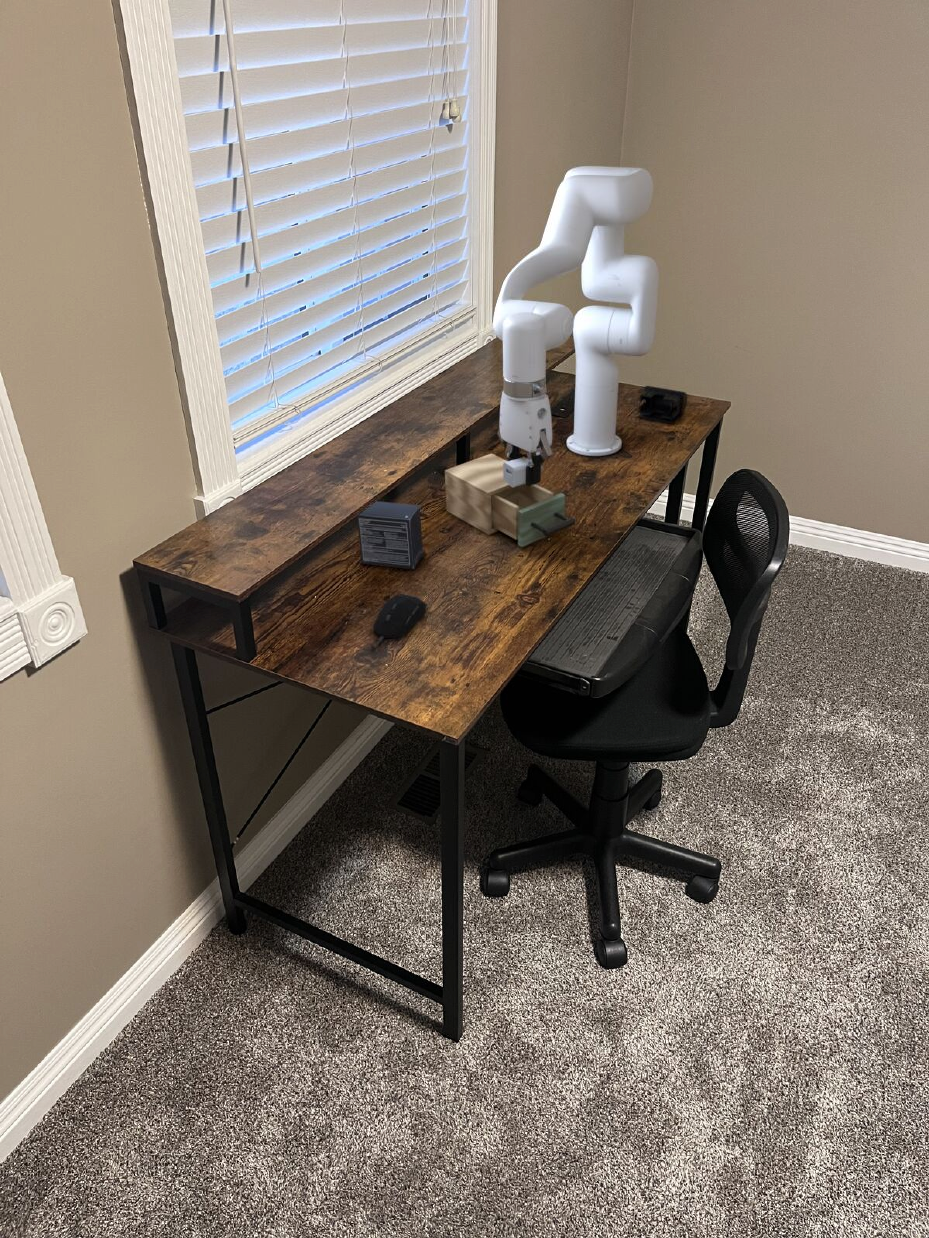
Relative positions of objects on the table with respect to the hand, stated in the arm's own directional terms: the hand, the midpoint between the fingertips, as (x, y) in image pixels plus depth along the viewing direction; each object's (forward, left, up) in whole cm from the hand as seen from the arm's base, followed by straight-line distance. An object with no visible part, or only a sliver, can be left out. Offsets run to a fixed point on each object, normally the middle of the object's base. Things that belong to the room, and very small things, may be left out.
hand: (524, 478), depth 175 cm
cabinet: (-5, -9, -11) cm, 15 cm away
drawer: (+1, +2, -10) cm, 11 cm away
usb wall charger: (0, 0, -1) cm, 1 cm away
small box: (+18, -20, -12) cm, 29 cm away
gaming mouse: (+38, -10, -12) cm, 41 cm away
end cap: (-66, +13, -12) cm, 68 cm away
